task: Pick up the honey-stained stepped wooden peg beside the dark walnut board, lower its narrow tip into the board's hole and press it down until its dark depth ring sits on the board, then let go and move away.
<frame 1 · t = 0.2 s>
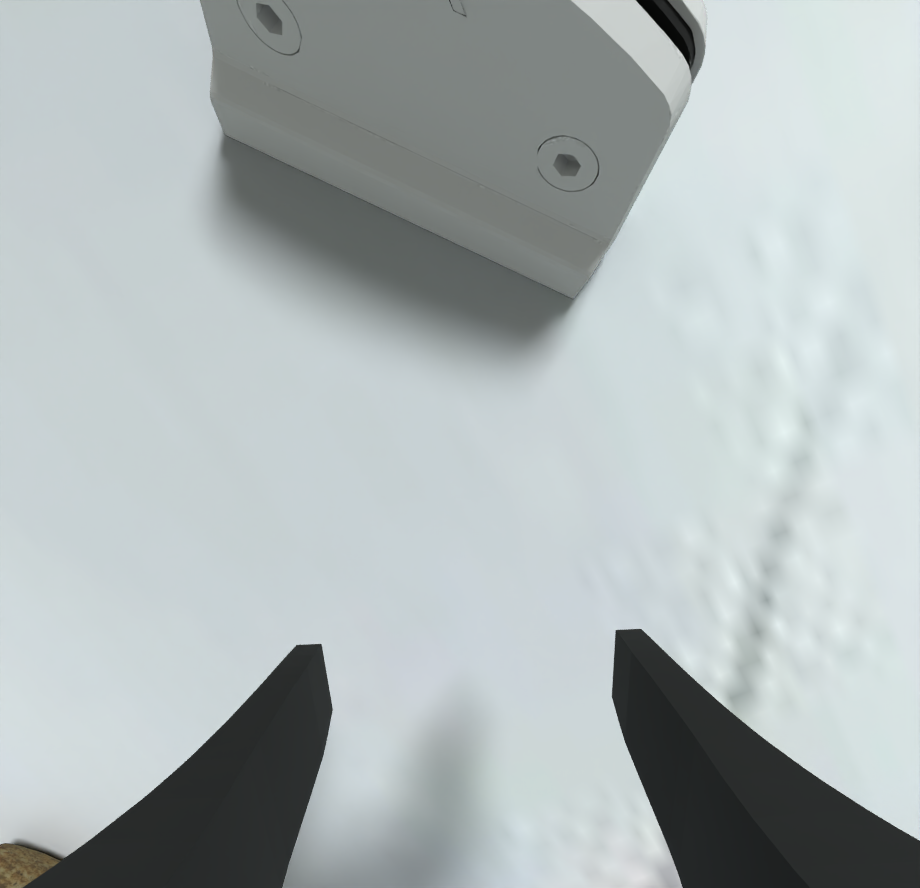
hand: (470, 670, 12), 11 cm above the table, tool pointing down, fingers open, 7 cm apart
hinge: (441, 132, 20), on the table
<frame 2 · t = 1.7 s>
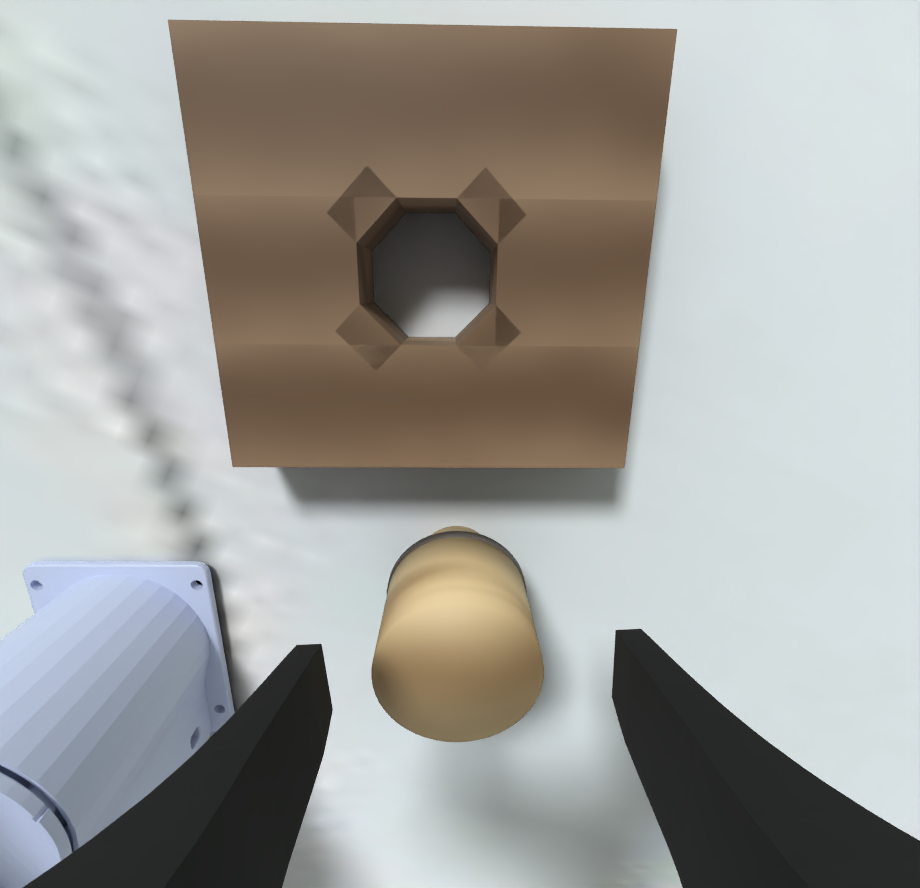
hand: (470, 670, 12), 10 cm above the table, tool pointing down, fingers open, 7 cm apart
peg: (456, 557, 22), on the table
board: (431, 277, 18), on the table
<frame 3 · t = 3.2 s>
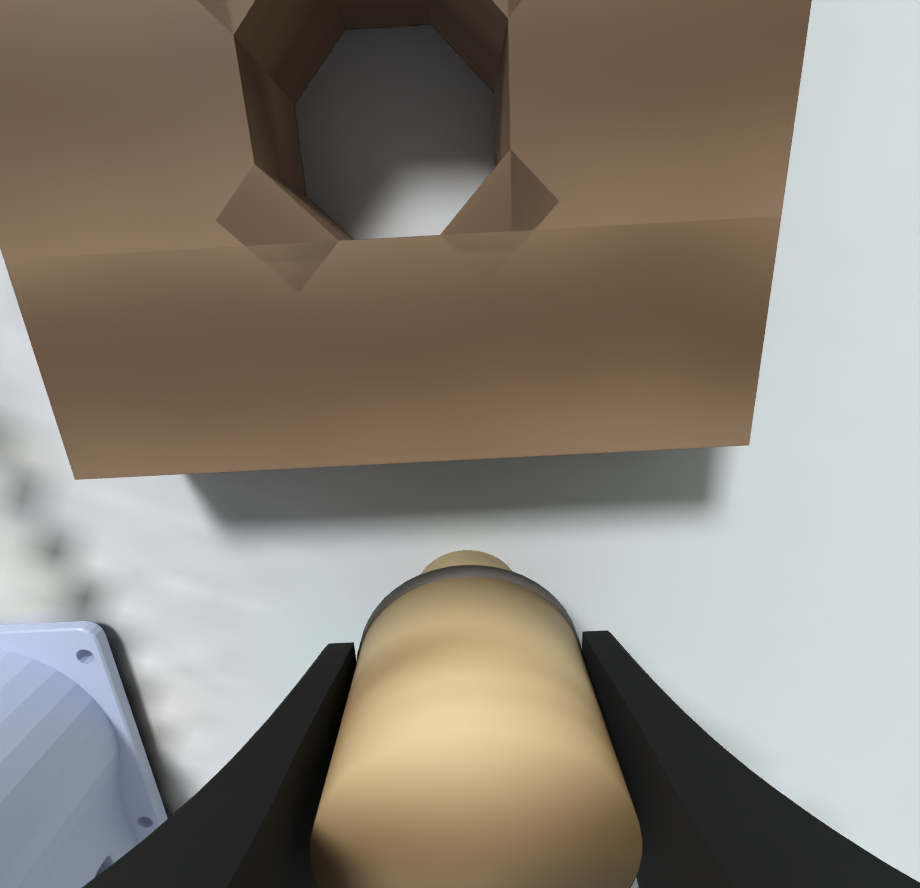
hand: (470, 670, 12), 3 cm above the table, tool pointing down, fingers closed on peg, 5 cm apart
peg: (467, 597, 14), on the table, touching gripper
board: (397, 145, 11), on the table
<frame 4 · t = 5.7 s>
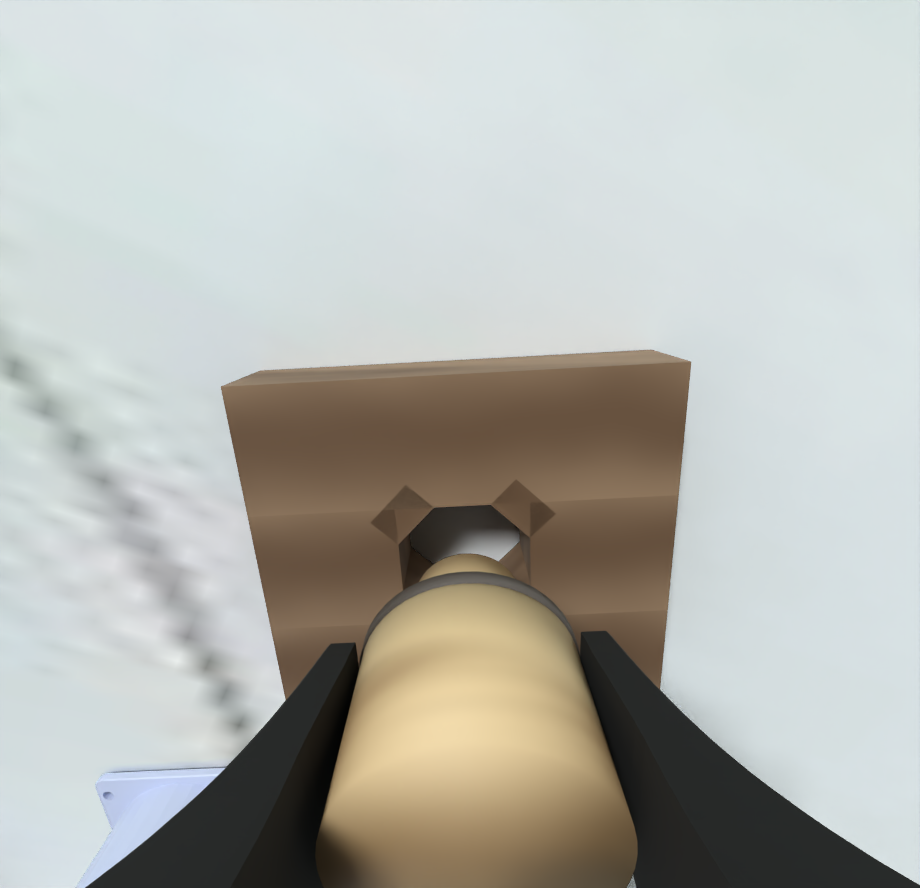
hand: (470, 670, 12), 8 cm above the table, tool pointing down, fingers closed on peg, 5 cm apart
peg: (467, 598, 15), point 5 cm above the table, touching gripper
board: (464, 524, 19), on the table
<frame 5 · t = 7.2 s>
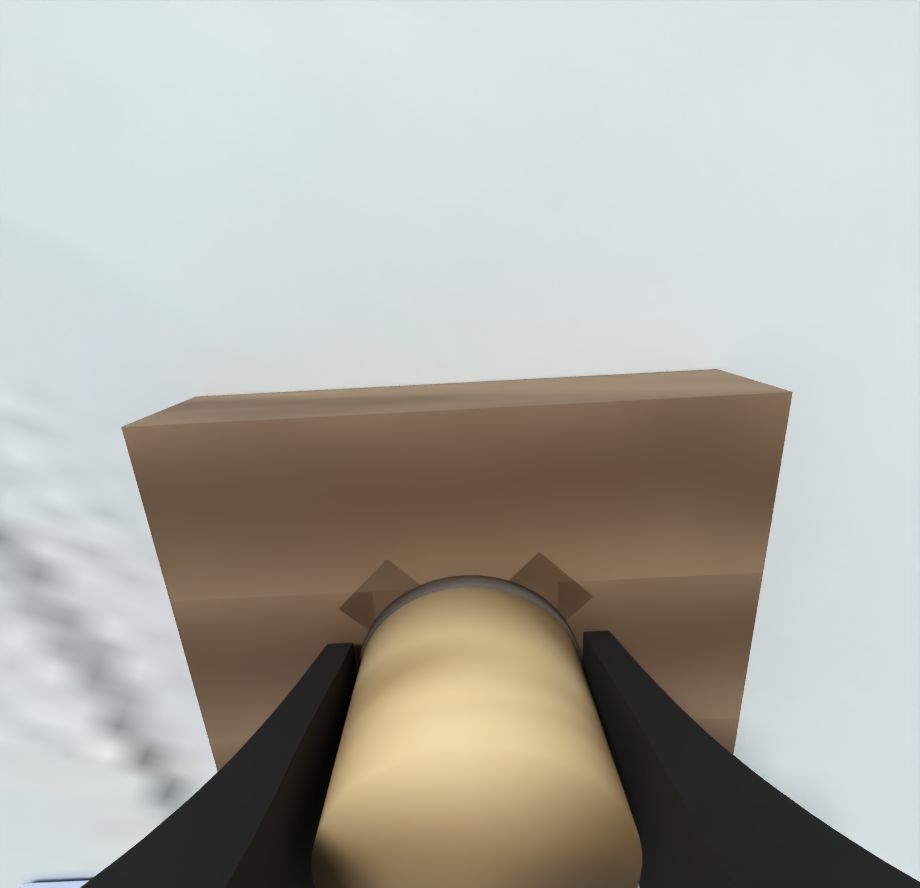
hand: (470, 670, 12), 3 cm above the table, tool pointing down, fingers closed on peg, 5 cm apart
peg: (467, 605, 14), resting in board, touching gripper
board: (466, 590, 15), on the table
when the fingers open (3 cm above the table, at t = 8.7 s): peg stays where it is, resting on board.
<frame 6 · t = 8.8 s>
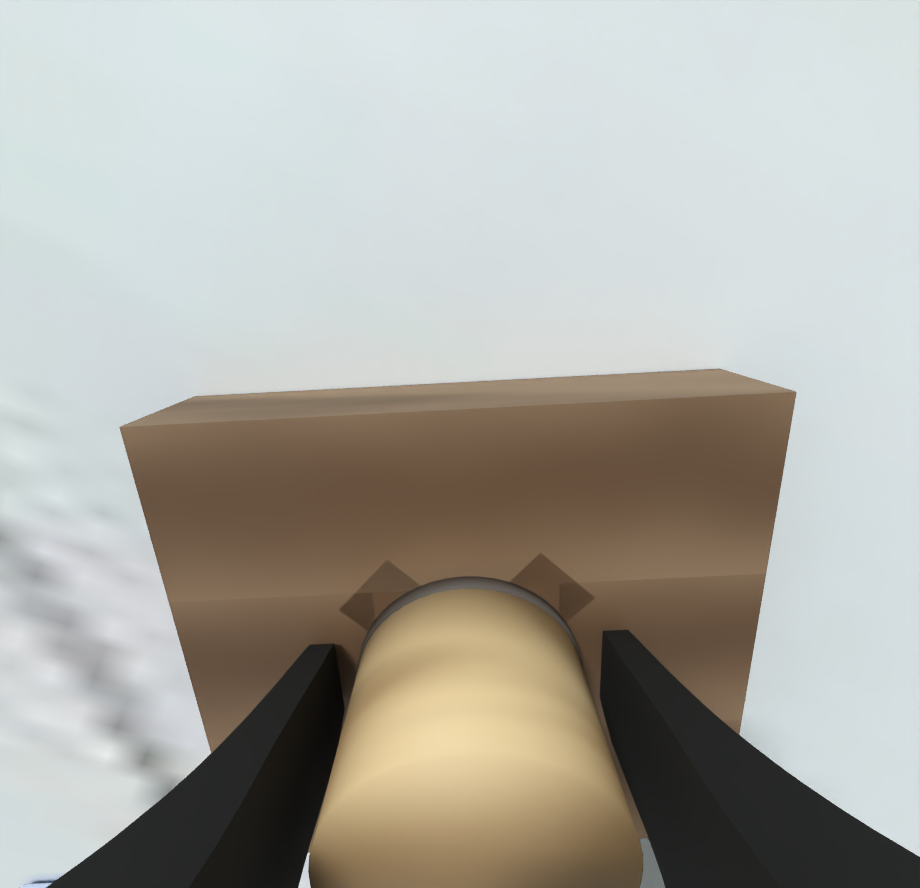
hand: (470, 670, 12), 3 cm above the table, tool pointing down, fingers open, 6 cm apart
peg: (467, 606, 14), resting on board
board: (467, 591, 15), on the table
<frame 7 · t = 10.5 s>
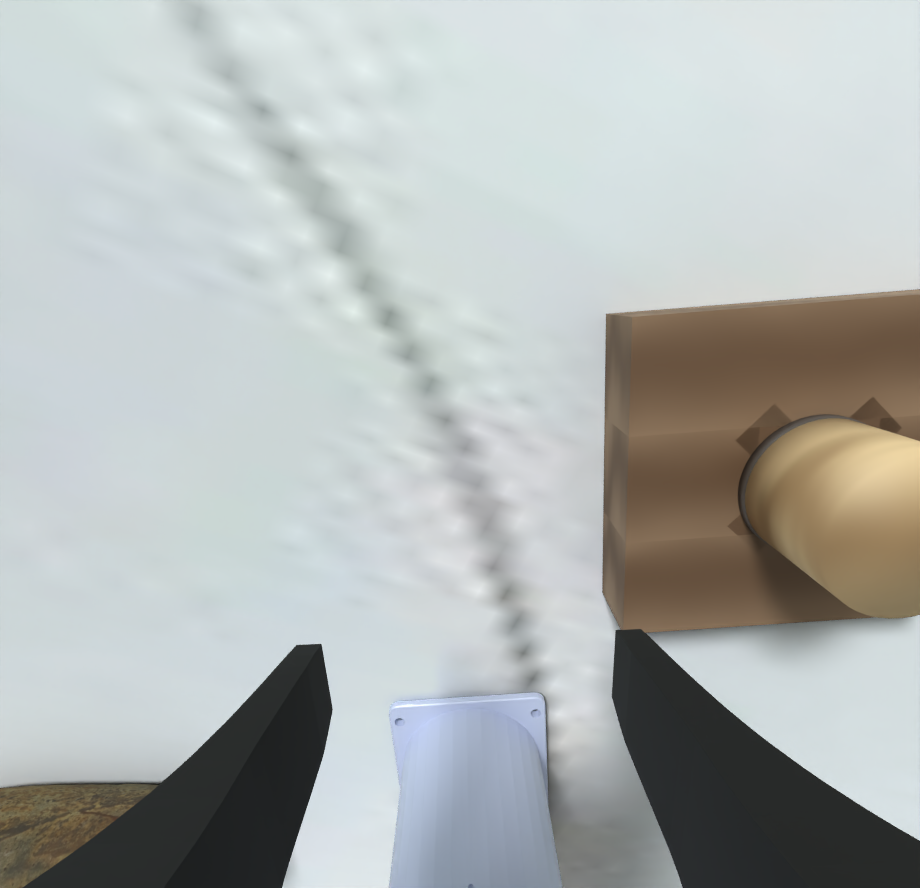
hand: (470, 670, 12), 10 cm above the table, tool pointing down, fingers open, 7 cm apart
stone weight: (119, 796, 27), on the table
peg: (768, 461, 21), resting on board
board: (763, 453, 21), on the table
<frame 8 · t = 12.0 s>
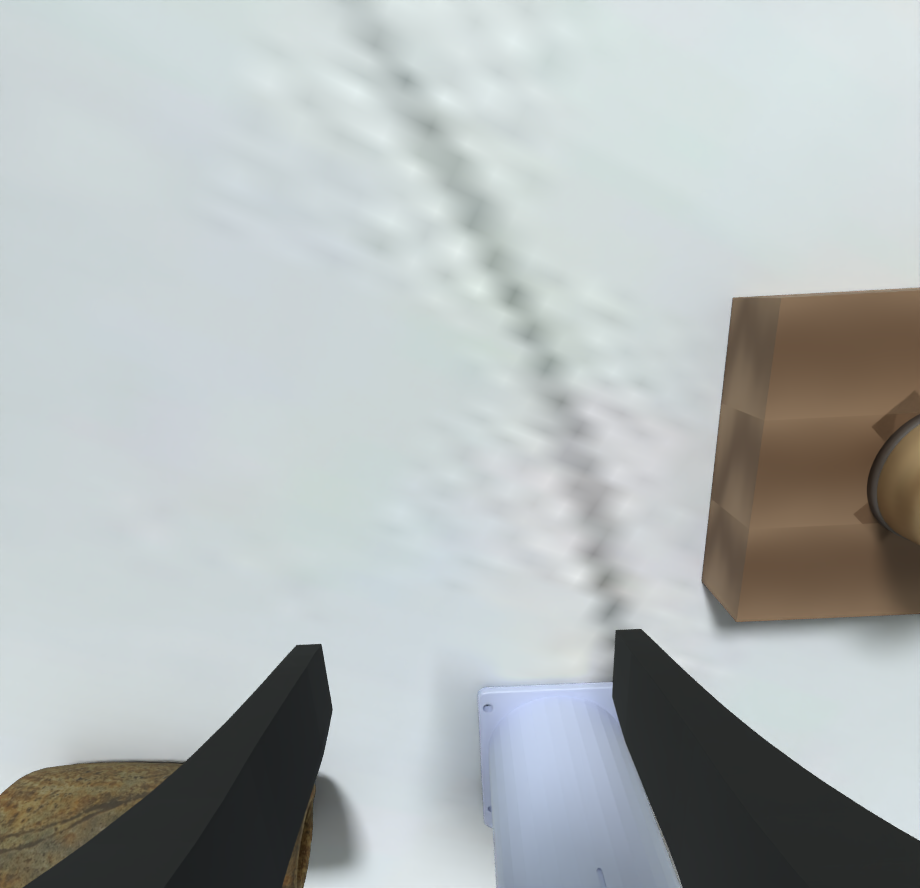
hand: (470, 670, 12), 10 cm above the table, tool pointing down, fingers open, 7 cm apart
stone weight: (194, 776, 27), on the table
peg: (883, 452, 21), resting on board
board: (877, 444, 21), on the table
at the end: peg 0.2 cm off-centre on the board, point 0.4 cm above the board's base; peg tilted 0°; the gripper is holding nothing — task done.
